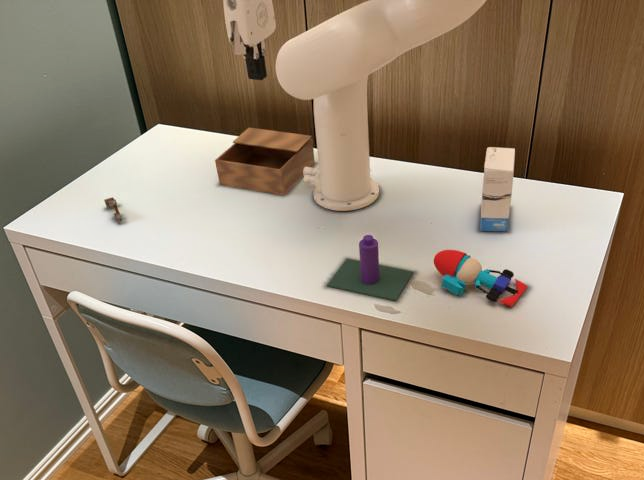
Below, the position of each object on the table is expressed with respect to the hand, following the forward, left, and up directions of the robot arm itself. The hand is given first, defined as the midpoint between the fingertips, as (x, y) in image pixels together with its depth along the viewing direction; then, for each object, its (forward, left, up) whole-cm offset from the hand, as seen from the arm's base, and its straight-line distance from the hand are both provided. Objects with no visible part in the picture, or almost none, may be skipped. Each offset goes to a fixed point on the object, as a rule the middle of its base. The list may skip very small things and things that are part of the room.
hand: (257, 77), depth 134 cm
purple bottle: (+34, -29, -19) cm, 48 cm away
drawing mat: (+34, -29, -19) cm, 48 cm away
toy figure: (+51, -25, -19) cm, 59 cm away
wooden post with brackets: (-21, -25, -19) cm, 38 cm away
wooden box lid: (0, +2, -13) cm, 13 cm away
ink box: (+48, -5, -19) cm, 52 cm away
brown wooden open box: (0, -2, -19) cm, 19 cm away
